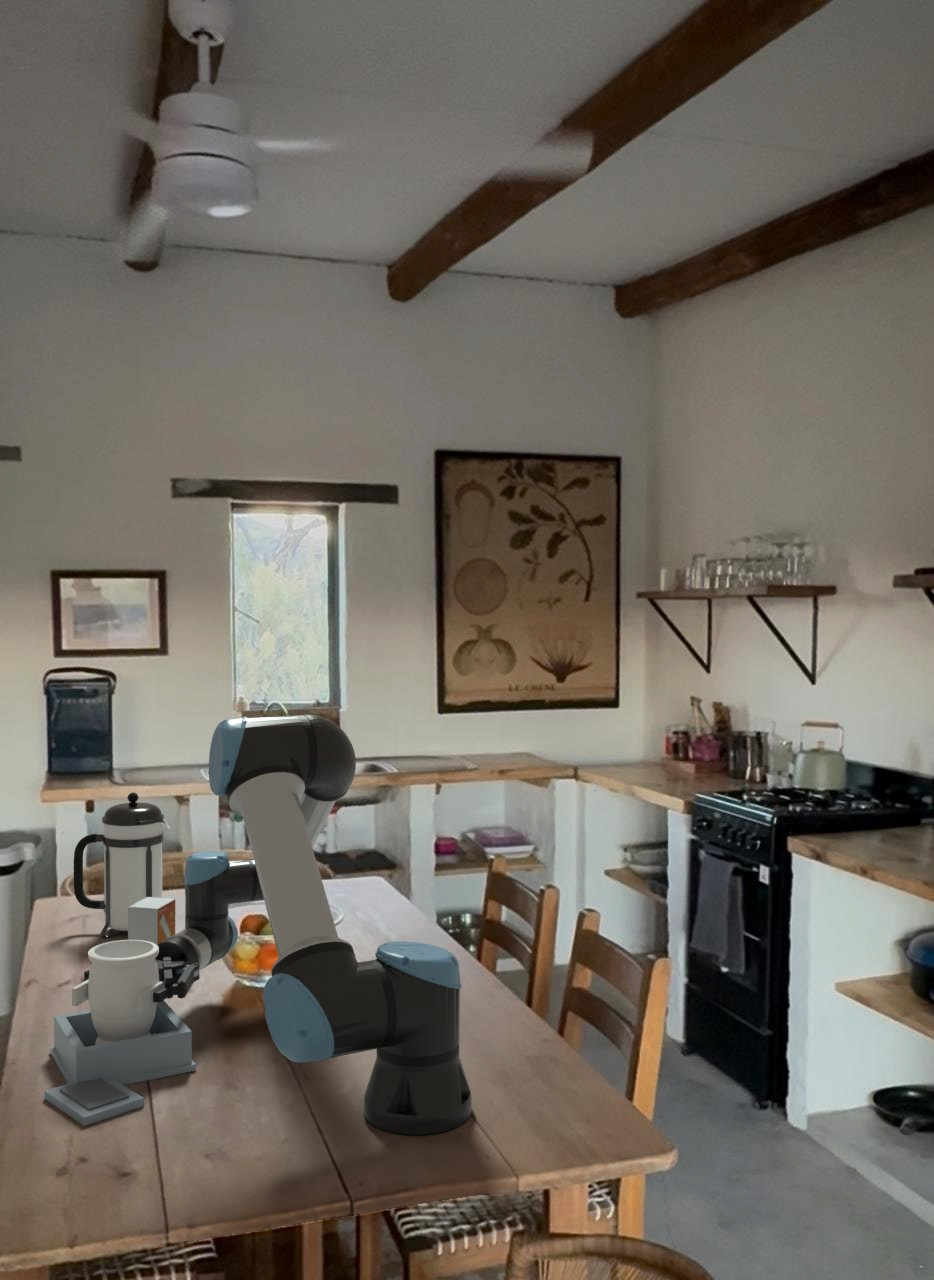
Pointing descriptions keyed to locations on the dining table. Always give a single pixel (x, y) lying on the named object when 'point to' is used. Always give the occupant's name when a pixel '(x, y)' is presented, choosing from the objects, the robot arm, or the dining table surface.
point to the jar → (121, 988)
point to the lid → (94, 1100)
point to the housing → (122, 1049)
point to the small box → (151, 919)
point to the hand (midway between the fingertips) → (106, 1000)
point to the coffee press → (125, 860)
